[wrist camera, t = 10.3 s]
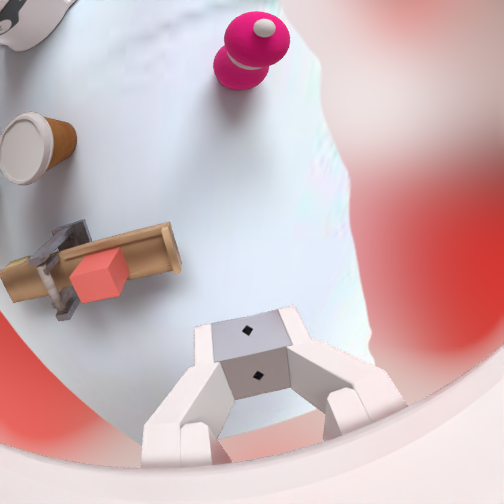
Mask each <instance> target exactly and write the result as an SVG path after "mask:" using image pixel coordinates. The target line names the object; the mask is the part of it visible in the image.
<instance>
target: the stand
mask: <svg viewBox="0 0 504 504" xmlns="http://www.w3.org/2000/svg"><path fill="white" fill-rule="evenodd" d="M52 234H53V237H52V238H51V239H50V240H49V241H48V242H46V243H45V244H44V245H43V246H42V247H41V248H40V249H39V250H38V251H37V252H36V253H35V254H34V255H33V256H32V257H31V258H30V259H29V260H28V262H29V265H30V267H32V266H35V265H38V264H42V263H43V262H44V261H45V260H46V259H47V257H48V256H49V255H50V254H51V253H52V252H53V251H54V250H55V249H56V248H57V247H58V249H59V251H62V250H66V249H69V248H72V247H76V246H79V245H83V244H86V243H90V242H92V239H91V237H90V234H89V231H88V228H87V225H86V222H85V219H84V220H81V221H77V222H74V223H71V224H68V225H65V226H63V227H60V228H57V229H54V230H53V231H52ZM80 301H81V300H80V299H79V297H78V295H77V293H76V291H75V290H74V291H73V293H72V294H71V296H70V298H69V299H68V301H67V302H66V308H65V309H64V310H62V311H58V312H57V314H56V318H57V319H58V321H64V320H70V319H71V317H72V315H73V313H74V311H75V310H76V308H77V306H78V304H79V302H80Z"/></svg>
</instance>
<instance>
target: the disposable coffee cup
mask: <svg viewBox="0 0 504 504" xmlns="http://www.w3.org/2000/svg"><path fill="white" fill-rule="evenodd" d="M76 142H77V136H76V132H75V129H74V128H73V126H72V125H71V124H69V123H67V122H63V121H59V120H54V119H50V118H46V117H43V116H42V115H40V114H38V113H36V112H24V113H22V114H20V115H18V116H17V117H16V118H14V119H13V120H12V121H11V122H9V124H8V125H7V126H6V127H5V129H4V131H3V132H2V135H1V137H0V169H1V171H2V173H3V174H4V176H5V177H6V178H7V179H8V180H9V181H11V182H13V183H16V184H19V185H29V184H32V183H34V182H36V181H37V180H38V179H39V178H40V177H41V176H42V175H43V174H44V172H46V171H47V170H49V169H50V168H52V167H53V166H55V165H57V164H58V163H60V162H62V161H63V160H65V159H67V158H68V157H69V156H70V155H71V154H72V153H73V151H74V149H75V147H76Z"/></svg>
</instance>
